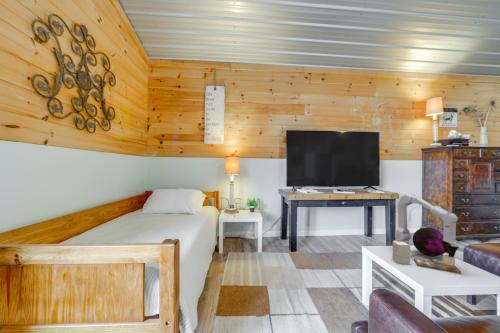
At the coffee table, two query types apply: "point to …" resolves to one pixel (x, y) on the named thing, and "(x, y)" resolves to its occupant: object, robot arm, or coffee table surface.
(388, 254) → the coffee table surface
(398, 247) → the supplement box
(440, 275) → the coffee table surface
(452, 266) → the sleeve
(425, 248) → the decorative sphere
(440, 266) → the pin board
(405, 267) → the coffee table surface
